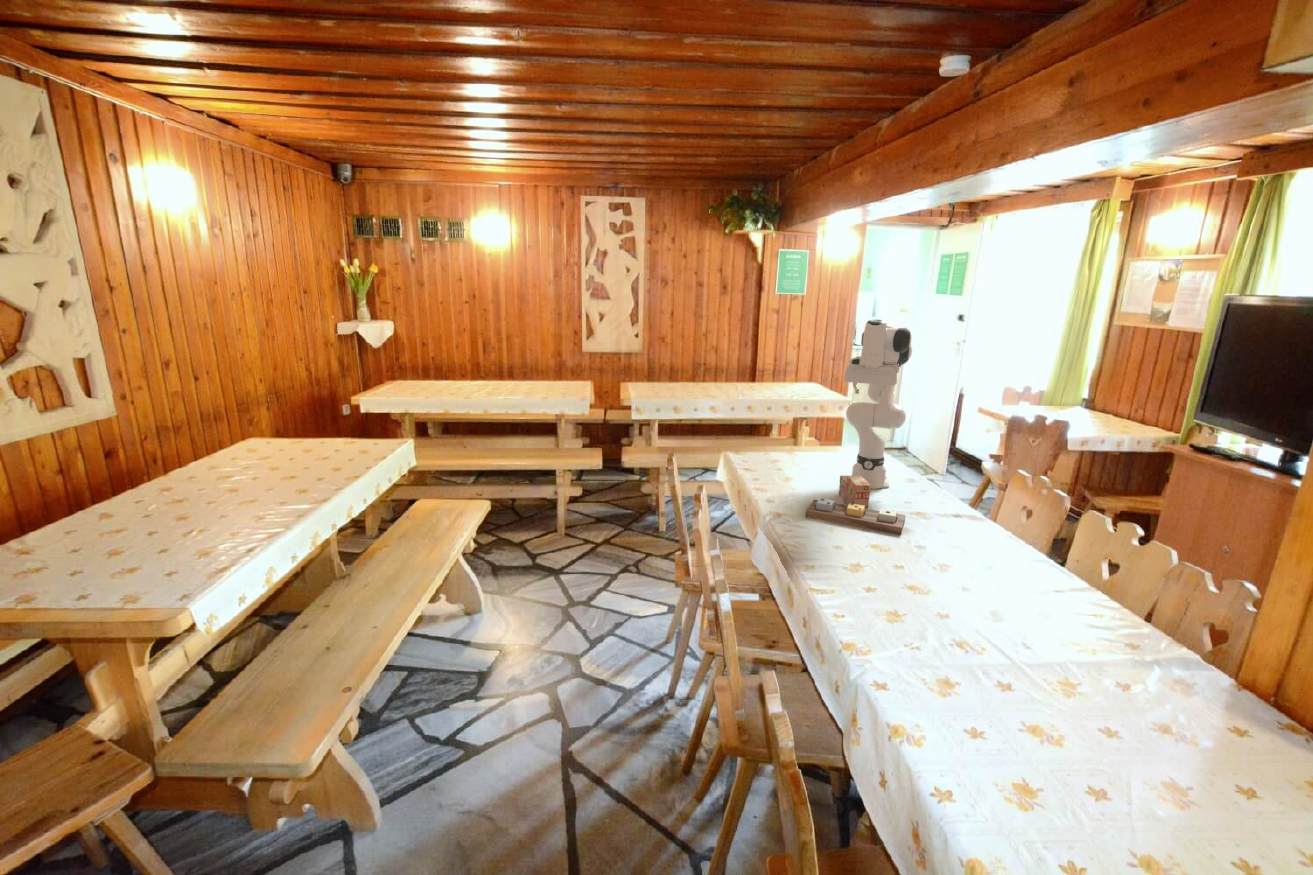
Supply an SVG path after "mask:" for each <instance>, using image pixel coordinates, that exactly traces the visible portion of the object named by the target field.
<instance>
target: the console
mask: <svg viewBox="0 0 1313 875" xmlns="http://www.w3.org/2000/svg"><path fill="white" fill-rule="evenodd" d="M818 500H819V499H813V500H812V502H811V503H810V504H809V506H808V507H807V508H806V512H805V518H808V519H814V520H820V521H823V522H824V521H826V522H829V523H830V522H831V523H835V524H840V525H846V526H852V527H857V528H862V529H867V530H873V531H877V532H878V531H879V532H884V533H889V534H895V535H902V534H903V533H902V532H903V530H904V526H905V521H906V514H899V513H897V516H896V522H895V523H892V522H887V521H881V520H878V517H879V512H880V510H877V509H870V508H868V509H866V508H865V511H864V516H863V517H859V516H853V515H848V514H846V513H847V507H848V505H847V504H843V503H837V502H834V509H833V511H832V512H831V511H826V510H820V509H816V503H817V501H818Z"/></svg>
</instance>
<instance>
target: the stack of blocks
mask: <svg viewBox="0 0 1313 875" xmlns="http://www.w3.org/2000/svg"><path fill="white" fill-rule="evenodd" d="M870 488H871V485H870V484H869V483H868V482H867V481H866V480H865V479H864V478H863V477H862V476H852V475H839V488H838V489H839V490H838V495H839V497H840V499H842V500H843V502H844V503H845V505H849V503H852V504H857V505H863V506H865V508H866V509H869V504H870V503H869V502H870V495H871V489H870Z"/></svg>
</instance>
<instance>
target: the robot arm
mask: <svg viewBox="0 0 1313 875" xmlns="http://www.w3.org/2000/svg"><path fill="white" fill-rule="evenodd" d="M860 344H861V346H862V348H861V355H860V356H856V357H852V358H850V359H849V361H848V365H847V367H846V368H845V373H844V382H846V383H852V387H853V389H854V394H855V395H859V393H860V389H859V388H857V385H858V384H866V385H867V384H868V390H867V396H868V397H869V398H870V400H871V401H873V402H874V403H873V402H866V401H865V402H864V401H863V402H861V401H859V402H852V403H851V404H849V405H848V406H847V409H846V412H845V417H846V419H847V421H848V423H849V424H851V426H853V428H854V429H855V430H856V432H857V434H858V440H859V442H858V454H857V456H856V463H854V464H853V465H852V471H851V476H862V477H863V478H864V479H865V480H866V481H867V482H868V483H869V484H870V485H871V488H870V490H871V489H872V490H877V489H885V488H890V484H889V480H888V477H887V476H886V474H887V473H886V472H887V470H886V468H885V467H884V464H885V456H884V454H885V446H886V442H885V439H884V438H883V437H882V436H881V435H879V434H878V433H877V432H875V431H874V428H879V429H887V430H893V429H899V428H901V427H902V426H903V425H904V423H905V422H906V417H907V416H906V412H905V410H904V409H903V407H901V406H900V405H899V404H898V403H897V402H896V400H895V398H894V391H895V386H896V385H897V384H898V373H899V372H900V367H902V365H905V364H907V362H908V361H909V360H910V358H911V356H912V355H913V354H912V352H913V349H912V347H913V346H912V334H911V331H910V330H909V329H908V327H907V328H906V327H898V326H896V325H895V324H893V323H891V322H886V320H882V319H870V320H867V322H866V323H865V327H864V331H863V332H862V334H861V341H860Z"/></svg>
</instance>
